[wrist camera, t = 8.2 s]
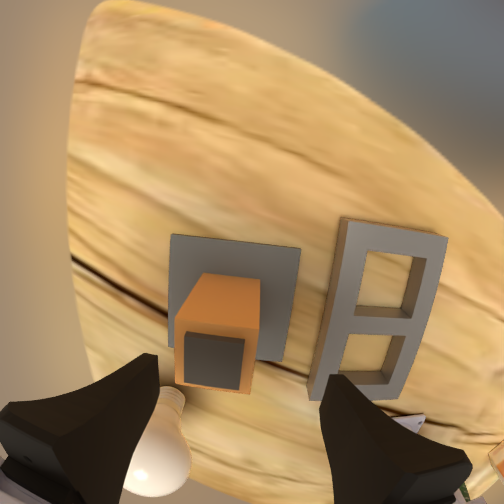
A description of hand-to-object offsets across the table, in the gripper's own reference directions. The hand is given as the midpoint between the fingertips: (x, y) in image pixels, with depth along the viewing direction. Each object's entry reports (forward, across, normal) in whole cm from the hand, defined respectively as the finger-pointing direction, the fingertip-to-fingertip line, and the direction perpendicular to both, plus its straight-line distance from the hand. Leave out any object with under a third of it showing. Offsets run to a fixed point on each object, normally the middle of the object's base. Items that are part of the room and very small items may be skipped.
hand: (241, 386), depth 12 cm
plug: (+10, +2, 0) cm, 10 cm away
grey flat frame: (+10, -10, +1) cm, 14 cm away
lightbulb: (+11, +6, +10) cm, 16 cm away
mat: (+10, +2, 0) cm, 10 cm away
